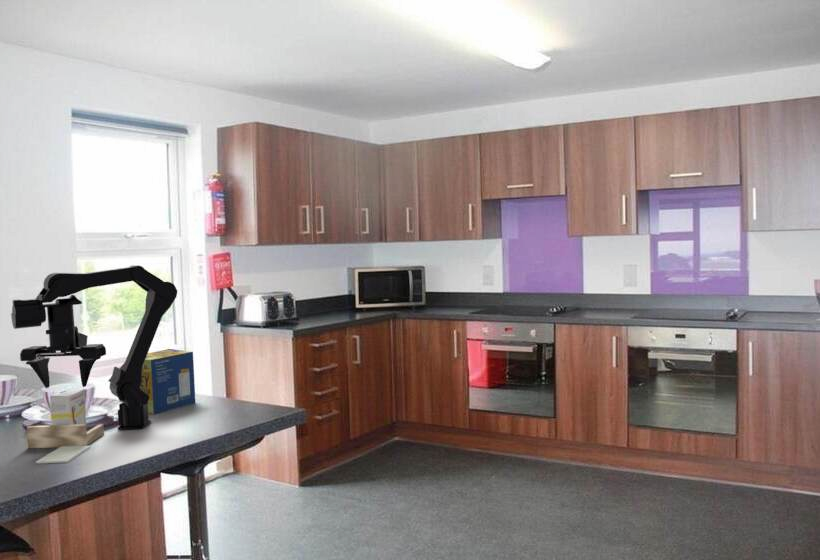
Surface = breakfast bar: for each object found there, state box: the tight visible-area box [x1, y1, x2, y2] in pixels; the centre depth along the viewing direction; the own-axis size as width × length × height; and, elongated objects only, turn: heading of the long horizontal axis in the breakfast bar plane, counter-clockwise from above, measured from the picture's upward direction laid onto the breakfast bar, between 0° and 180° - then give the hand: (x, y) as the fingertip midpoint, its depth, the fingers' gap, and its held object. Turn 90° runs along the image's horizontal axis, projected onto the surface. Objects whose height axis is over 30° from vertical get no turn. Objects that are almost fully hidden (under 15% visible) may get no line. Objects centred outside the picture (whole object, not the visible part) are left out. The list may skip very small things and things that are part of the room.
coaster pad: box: [35, 445, 91, 464], centre depth 160 cm, size 7×11×1 cm, turn 0°
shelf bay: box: [26, 423, 105, 449], centre depth 172 cm, size 14×10×5 cm
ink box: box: [49, 388, 88, 431], centre depth 173 cm, size 9×5×12 cm, turn 0°
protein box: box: [140, 348, 196, 415], centre depth 204 cm, size 10×15×16 cm
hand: (66, 387), depth 173 cm, fingers open, 9 cm apart
